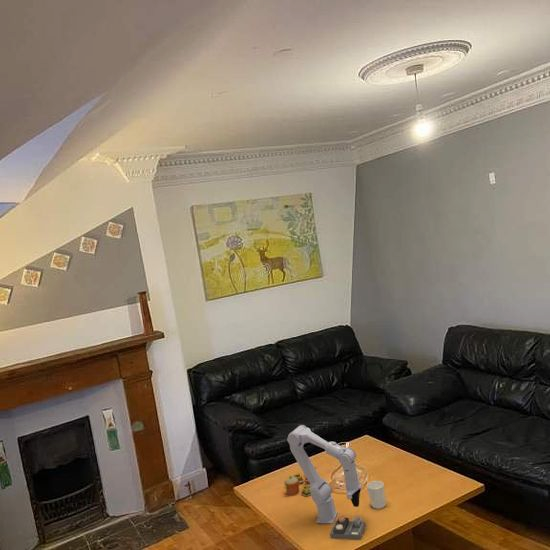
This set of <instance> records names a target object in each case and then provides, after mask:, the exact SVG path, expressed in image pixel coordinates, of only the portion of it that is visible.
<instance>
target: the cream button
mask: <svg viewBox="0 0 550 550" xmlns="http://www.w3.org/2000/svg"><path fill="white" fill-rule="evenodd" d="M336 529H338V530H343V525H341V524H338V525H336Z"/></svg>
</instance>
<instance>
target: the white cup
mask: <svg viewBox="0 0 550 550" xmlns="http://www.w3.org/2000/svg"><path fill="white" fill-rule="evenodd" d="M366 488H367V491H368V497H369V501H370V504H371V507H372V508H373V509H375V510H376V509H379V510H380V509H384V507H386V505H387V501H386V492H385V484H384V482H382V481H380V480H372V481H370V482H368V483H367V484H366Z"/></svg>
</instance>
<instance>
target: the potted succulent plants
mask: <svg viewBox="0 0 550 550" xmlns="http://www.w3.org/2000/svg"><path fill="white" fill-rule="evenodd" d="M314 468H315V469H316V470H317V467H315V466H314ZM302 483H304V485H302V486H301V490H302V491H301V492H300V488H299V486H300V484H302ZM283 488H284V489H285V490H286V492H287V494H288V495H289V496H291V497H292V496H296V495H298V494H299V492H300V493H301V495H302V496H303V497H310V496H312V495H311V493H310V483H309V481H308V479H307V477H306V476H305V477H304V478H303V474H302V473H301V472H298V473H295V474H293V475H289V476H288V478H286V479H285V480H284V486H283Z"/></svg>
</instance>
